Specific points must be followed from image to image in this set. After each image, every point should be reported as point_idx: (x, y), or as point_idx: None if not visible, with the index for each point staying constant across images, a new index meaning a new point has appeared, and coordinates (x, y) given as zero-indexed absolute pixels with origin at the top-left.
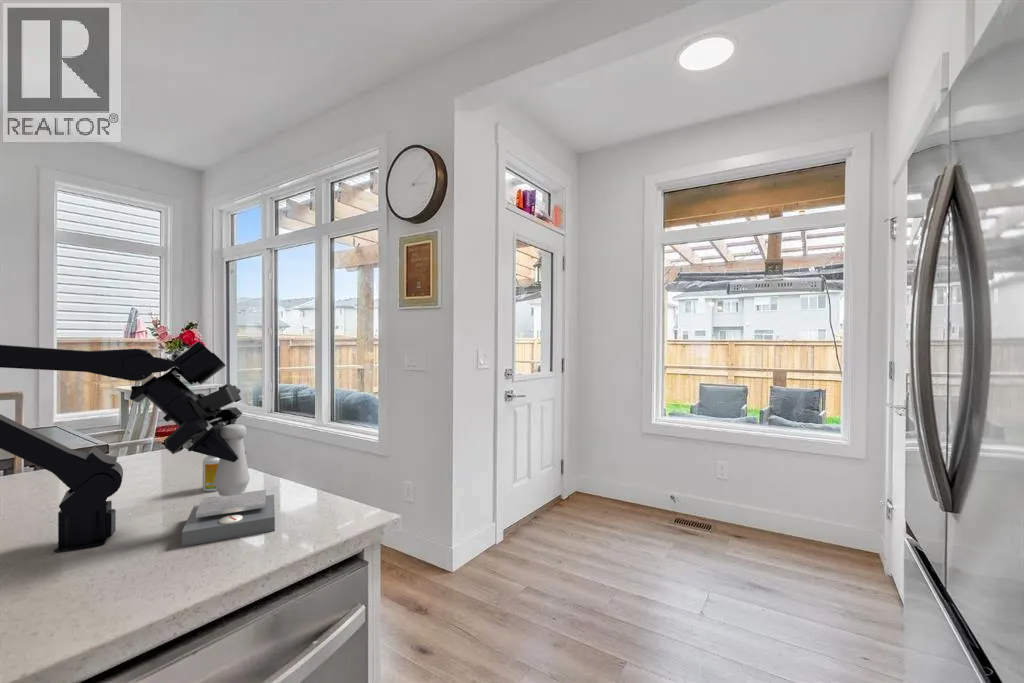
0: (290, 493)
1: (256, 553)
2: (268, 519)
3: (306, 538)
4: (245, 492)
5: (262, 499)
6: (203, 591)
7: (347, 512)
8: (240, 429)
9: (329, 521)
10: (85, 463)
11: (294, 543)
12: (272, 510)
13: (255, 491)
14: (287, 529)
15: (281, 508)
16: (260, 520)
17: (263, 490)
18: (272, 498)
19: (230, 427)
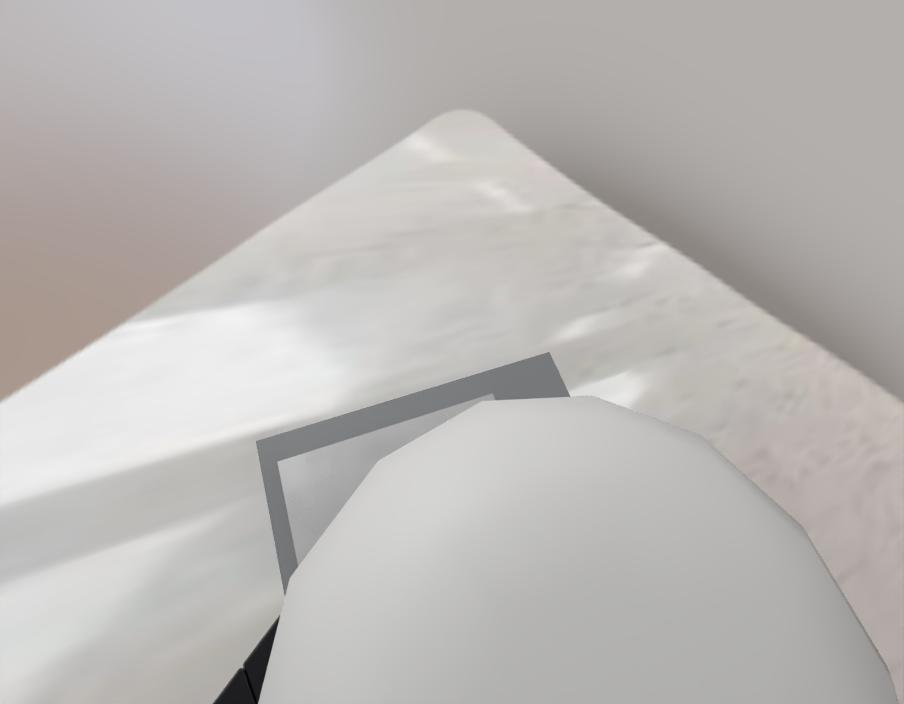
0: (90, 435)
1: (688, 371)
2: (555, 372)
3: (593, 271)
4: (300, 561)
5: (440, 424)
6: (881, 421)
7: (407, 200)
8: (698, 436)
9: (475, 236)
10: None
11: (624, 293)
12: (480, 380)
13: (297, 507)
14: (526, 335)
15: (307, 413)
16: (567, 395)
17: (289, 470)
18: (318, 429)
19: (891, 685)
